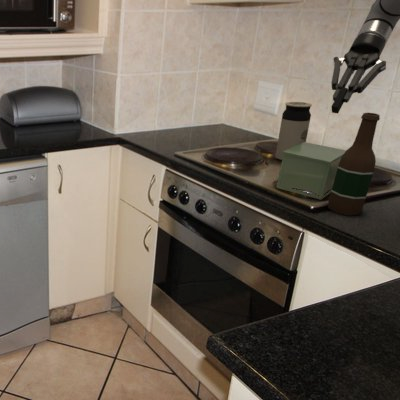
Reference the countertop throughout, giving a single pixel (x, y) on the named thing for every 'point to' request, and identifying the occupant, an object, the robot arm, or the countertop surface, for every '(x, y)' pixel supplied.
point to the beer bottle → (355, 170)
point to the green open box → (306, 176)
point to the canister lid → (315, 153)
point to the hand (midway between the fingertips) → (334, 109)
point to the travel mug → (293, 126)
